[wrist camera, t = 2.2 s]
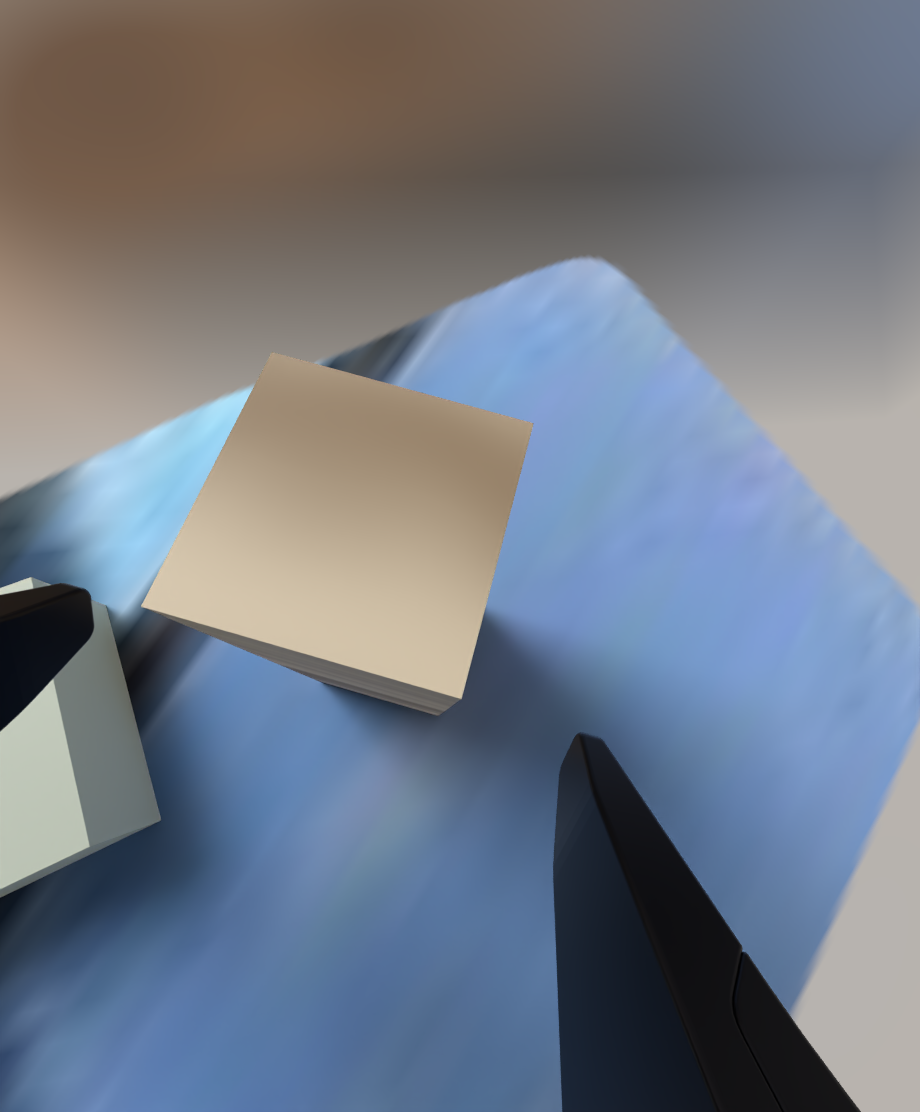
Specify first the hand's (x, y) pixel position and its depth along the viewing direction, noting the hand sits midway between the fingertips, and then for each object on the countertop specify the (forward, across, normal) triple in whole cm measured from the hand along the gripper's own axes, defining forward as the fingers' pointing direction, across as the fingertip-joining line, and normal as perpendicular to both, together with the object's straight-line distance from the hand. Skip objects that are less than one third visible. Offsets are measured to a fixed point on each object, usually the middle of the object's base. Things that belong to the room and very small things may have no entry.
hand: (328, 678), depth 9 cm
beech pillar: (+8, 0, +5) cm, 10 cm away
